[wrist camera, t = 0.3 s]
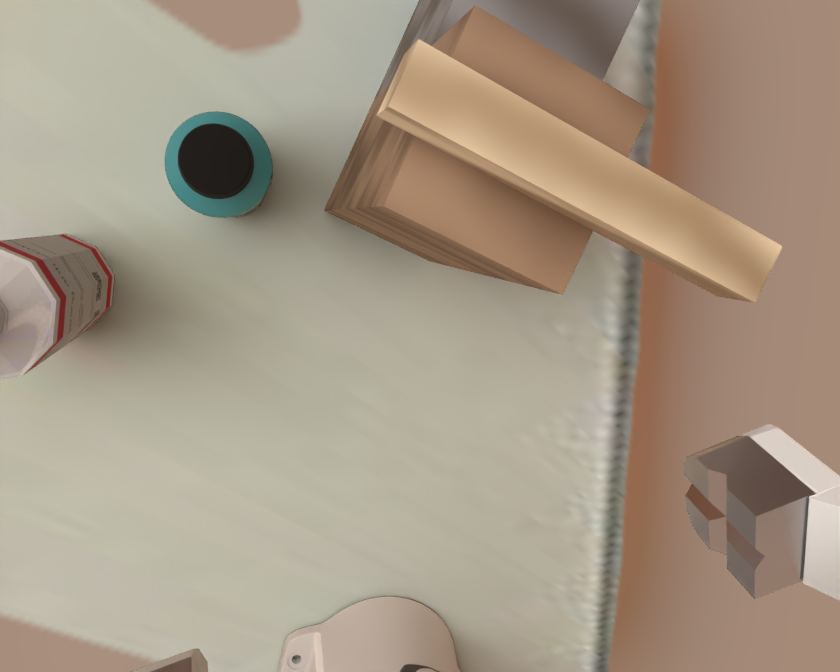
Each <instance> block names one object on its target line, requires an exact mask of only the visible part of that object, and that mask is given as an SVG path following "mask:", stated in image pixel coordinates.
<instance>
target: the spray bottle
mask: <svg viewBox="0 0 840 672" xmlns="http://www.w3.org/2000/svg"><path fill="white" fill-rule="evenodd" d="M114 276H115V275H114V273H113V272H112V270H111V269H110V267H109V265H108V264H107V262H106V261H105V259H104V258H103V256H102V254H101V253H100V251H99V250H98V248H97V247H94V246H92V245H90V244H88V243H85V242H83V241H81V240H79V239H76V238H74V237H72V236H70V235H67V234H62V235H52V236H43V237H33V238H23V239H13V240H3V241H0V380H4V379H9V378H14V377H19V376H23V375H24V374H25V373H27V372H28V371H30V370H31V369H33V368H34V367H35V366H37V365H38V364H40V363H41V362H42V361H44V360H45V359H47V358H48V357H50V356H51V355H52V354H54V353H55V352H57V351H58V350H59V349H61V348H62V347H64V346H65V345H67V344H68V343H69V342H71V341H72V340H74V339H75V338H77V337H78V336H79V335H81V334H82V333H84V332H85V331H86V330H88V329H89V328H91V327H92V326H93V324H94V323H95V322H96V321H97V320H98V319H99V318H100V317H101V316H102V315H103V314H104V313H105V312H106V311H107V310H108V309H109V308H110V307H111V306H112V298H113V287H114Z"/></svg>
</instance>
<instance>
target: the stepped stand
mask: <svg viewBox="0 0 840 672" xmlns="http://www.w3.org/2000/svg"><path fill="white" fill-rule="evenodd" d="M639 1H640V0H419V2H418V4H417V7H416V9H415V11H414V13H413V16H412V18H411V20H410V22H409V24H408V27H407V29H406V31H405V33H404V35H403V38H402V40H401V42H400V44H399V46H398V49H397V51H396V53H395V55H394V57H393V60H392V62H391V64H390V66H389V68H388V71H387V73H386V75H385V77H384V80H383V82H382V84H381V86H380V88H379V91H378V93H377V95H376V97H375V99H374V102H373V104H372V106H371V108H370V110H369V113H368V115H367V117H366V119H365V121H364V124H363V126H362V128H361V130H360V133H359V135H358V137H357V139H356V141H355V144H354V146H353V148H352V150H351V152H350V155H349V157H348V159H347V161H346V163H345V166H344V168H343V170H342V172H341V174H340V177H339V179H338V181H337V183H336V186H335V188H334V190H333V192H332V194H331V197H330V199H329V201H328V203H327V205H326V208H325V211H327V212H329V213H331V214H333V215H335V216H337V217H339V218H341V219H344V220H346V221H348V222H350V223H352V224H354V225H356V226H358V227H360V228H362V229H364V230H366V231H368V232H371V233H373V234H375V235H377V236H379V237H381V238H383V239H385V240H387V241H389V242H391V243H393V244H396V245H398V246H400V247H402V248H404V249H406V250H408V251H410V252H412V253H414V254H416V255H418V256H421V257H423V258H425V259H427V260H429V261H432V262H436V263H440V264H444V265H448V266H451V267H455V268H459V269H463V270H467V271H471V272H475V273H479V274H483V275H487V276H491V277H495V278H499V279H503V280H507V281H511V282H515V283H519V284H523V285H527V286H531V287H535V288H538V289H542V290H546V291H550V292H554V293H558V294H562V295H563V293H564V291H565V288H566V286H567V284H568V282H569V280H570V278H571V276H572V274H573V272H574V269H575V267H576V265H577V263H578V261H579V259H580V257H581V255H582V253H583V250H584V248H585V246H586V244H587V242H588V240H589V238H590V236H591V234H592V231H593V230H591V229H589V228H587V227H586V226H584V225H582V224H580V223H578V222H576V221H574V220H572V219H570V218H569V217H567V216H565V215H563V214H561V213H559V212H557V211H555V210H553V209H551V208H550V207H548V206H546V205H544V204H542V203H540V202H538V201H536V200H534V199H533V198H531V197H529V196H527V195H525V194H523V193H521V192H519V191H517V190H516V189H514V188H512V187H510V186H508V185H506V184H504V183H502V182H500V181H499V180H497V179H495V178H493V177H491V176H489V175H487V174H485V173H483V172H482V171H480V170H478V169H476V168H474V167H472V166H470V165H468V164H466V163H465V162H463V161H461V160H459V159H457V158H455V157H453V156H451V155H449V154H448V153H446V152H444V151H442V150H440V149H438V148H436V147H434V146H432V145H431V144H429V143H427V142H425V141H423V140H421V139H419V138H417V137H415V136H413V135H412V134H410V133H408V132H406V131H404V130H402V129H400V128H398V127H396V126H395V125H393V124H391V123H389V122H387V121H385V120H383V119H381V118H379V117H378V116H376V115H377V113H378V111H379V109H380V106H381V104H382V102H383V100H384V98H385V95H386V93H387V91H388V89H389V87H390V84H391V82H392V80H393V78H394V76H395V73H396V71H397V69H398V67H399V65H400V62H401V60H402V58H403V56H404V54H405V53H406V52H407V51H408V50H409V49H410V48H411V47H412V46H413V45H414V44H415V42H416V41H417V40H418V39H420V40H421V41H423V42H425V43H427V44H428V45H430V46H432V47H434V48H435V49H437V50H439V51H441V52H442V53H444V54H446V55H448V56H449V57H451V58H453V59H455V60H457V61H458V62H460V63H462V64H464V65H465V66H467V67H469V68H471V69H472V70H474V71H476V72H478V73H479V74H481V75H483V76H485V77H486V78H488V79H490V80H492V81H493V82H495V83H497V84H499V85H500V86H502V87H504V88H506V89H507V90H509V91H511V92H513V93H514V94H516V95H518V96H520V97H521V98H523V99H525V100H527V101H528V102H530V103H532V104H534V105H535V106H537V107H539V108H541V109H542V110H544V111H546V112H548V113H549V114H551V115H553V116H555V117H557V118H558V119H560V120H562V121H564V122H565V123H567V124H569V125H571V126H572V127H574V128H576V129H578V130H579V131H581V132H583V133H585V134H586V135H588V136H590V137H592V138H593V139H595V140H597V141H599V142H600V143H602V144H604V145H606V146H607V147H609V148H611V149H613V150H614V151H616V152H618V153H620V154H621V155H623V156H625V157H627V158H628V156H629V153H630V151H631V149H632V147H633V145H634V143H635V141H636V139H637V137H638V134H639V132H640V130H641V128H642V126H643V124H644V122H645V120H646V118H647V115H648V113H649V111H650V109H648V108H647V107H645V106H643V105H642V104H640V103H638V102H637V101H635V100H633V99H632V98H630V97H628V96H627V95H625V94H623V93H622V92H620V91H618V90H617V89H615V88H613V87H612V86H610V85H608V84H607V83H605V82H603V81H602V80H603V78H604V76H605V74H606V72H607V70H608V67H609V65H610V63H611V61H612V59H613V57H614V55H615V52H616V50H617V48H618V46H619V44H620V42H621V40H622V38H623V35H624V33H625V31H626V29H627V27H628V25H629V23H630V21H631V18H632V16H633V14H634V12H635V10H636V8H637V6H638V3H639Z"/></svg>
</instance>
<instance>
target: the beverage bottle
mask: <svg viewBox="0 0 840 672" xmlns="http://www.w3.org/2000/svg"><path fill="white" fill-rule="evenodd" d="M165 171H166V175H167V178H168V181H169V184H170V186H171V187H172V189H173V191H174V192H175V194H176V195H177V196H178V198H179V199H180V200H181V201H182V202H183V203H184V204H186V205H187V206H188V207H190V208H191V209H193V210H195V211H197V212H198V213H201V214H204V215H207V216H211V217H235V216H240V215H243V214H246V213H248V212H250V211H251V210H253V209H254V208H255V207H256V206H258V205H259V203H260V202H261V201H262V199H263V198H264V196H265V194H266V192H267V189H268V187H269V184H270V181H271V177H272V175H273V174H272V173H273V172H272V171H273V170H272V159H271V154H270V151H269V148H268V146H267V144H266V142H265V140H264V139H263V137H262V135H261V134H260V133H259V132H258V130H257V129H256V128H255V127H254V126H252V125H251V124H250V123H249V122H247V121H246V120H244V119H242V118H240V117H238V116H236V115H233V114H230V113H225V112H206V113H201V114H198V115H195V116H193V117H191V118H189V119H188V120H186V121H185V122H183V123H182V124H181V125H180V126H179V127H178V128H177V129H176V130H175V132H174V133H173V135H172V136H171V138H170V140H169V142H168V145H167V148H166V153H165ZM272 178H273V177H272ZM270 185H271V184H270ZM270 187H271V186H270ZM268 193H269V192H268ZM259 207H260V206H259ZM254 211H255V210H254ZM248 215H249V213H248ZM241 217H242V216H241Z"/></svg>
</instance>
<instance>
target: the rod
mask: <svg viewBox="0 0 840 672" xmlns="http://www.w3.org/2000/svg"><path fill="white" fill-rule="evenodd" d="M376 116H378V117H379V118H381V119H383V120H385V121H387V122H389V123H391V124H393V125H395V126H396V127H398V128H400V129H402V130H404V131H406V132H408V133H410V134H412V135H413V136H415V137H417V138H419V139H421V140H423V141H425V142H427V143H429V144H431V145H432V146H434V147H436V148H438V149H440V150H442V151H444V152H446V153H448V154H449V155H451V156H453V157H455V158H457V159H459V160H461V161H463V162H465V163H466V164H468V165H470V166H472V167H474V168H476V169H478V170H480V171H482V172H483V173H485V174H487V175H489V176H491V177H493V178H495V179H497V180H499V181H500V182H502V183H504V184H506V185H508V186H510V187H512V188H514V189H516V190H517V191H519V192H521V193H523V194H525V195H527V196H529V197H531V198H533V199H534V200H536V201H538V202H540V203H542V204H544V205H546V206H548V207H550V208H551V209H553V210H555V211H557V212H559V213H561V214H563V215H565V216H567V217H569V218H570V219H572V220H574V221H576V222H578V223H580V224H582V225H584V226H586V227H587V228H589V229H591V230H593V231H595V232H597V233H599V234H601V235H603V236H604V237H606V238H608V239H610V240H612V241H614V242H616V243H618V244H620V245H621V246H623V247H625V248H627V249H629V250H631V251H633V252H635V253H637V254H638V255H640V256H642V257H644V258H646V259H648V260H650V261H652V262H654V263H656V264H658V265H659V266H661V267H663V268H665V269H667V270H669V271H671V272H672V273H674V274H676V275H678V276H680V277H682V278H684V279H686V280H688V281H690V282H691V283H693V284H695V285H697V286H699V287H701V288H703V289H705V290H707V291H708V292H710V293H712V294H714V295H716V296H720V297H725V298H731V299H736V300H742V301H748V302H754V303H755V302H756V300H757V298H758V296H759V294H760V292H761V290H762V287H763V286H764V284H765V282H766V280H767V278H768V276H769V274H770V272H771V269H772V267H773V265H774V263H775V261H776V259H777V257H778V255H779V253H780V251H781V249H782V246H781V245H779V244H778V243H776V242H774V241H772V240H771V239H769V238H767V237H765V236H763V235H762V234H760V233H758V232H756V231H755V230H753V229H751V228H749V227H748V226H746V225H744V224H742V223H741V222H739V221H737V220H735V219H733V218H732V217H730V216H728V215H727V214H725V213H723V212H721V211H720V210H717V209H716V208H714V207H713V206H711V205H709V204H707V203H706V202H704V201H702V200H700V199H698V198H697V197H695V196H693V195H691V194H690V193H688V192H686V191H685V190H683V189H681V188H679V187H678V186H676V185H674V184H672V183H670V182H669V181H667V180H665V179H664V178H662V177H660V176H658V175H657V174H655V173H653V172H651V171H649V170H648V169H646V168H644V167H642V166H641V165H639V164H637V163H635V162H634V161H632V160H630V159H628V158H627V157H625V156H623V155H621V154H620V153H618V152H616V151H614V150H613V149H611V148H609V147H607V146H606V145H604V144H602V143H600V142H599V141H597V140H595V139H593V138H592V137H590V136H588V135H586V134H585V133H583V132H581V131H579V130H578V129H576V128H574V127H572V126H571V125H569V124H567V123H565V122H564V121H562V120H560V119H558V118H557V117H555V116H553V115H551V114H549V113H548V112H546V111H544V110H542V109H541V108H539V107H537V106H535V105H534V104H532V103H530V102H528V101H527V100H525V99H523V98H521V97H520V96H518V95H516V94H514V93H513V92H511V91H509V90H507V89H506V88H504V87H502V86H500V85H499V84H497V83H495V82H493V81H492V80H490V79H488V78H486V77H485V76H483V75H481V74H479V73H478V72H476V71H474V70H472V69H471V68H469V67H467V66H465V65H464V64H462V63H460V62H458V61H457V60H455V59H453V58H451V57H449V56H448V55H446V54H444V53H442V52H441V51H439V50H437V49H435V48H434V47H432V46H430V45H428V44H427V43H425V42H423V41H421V40H420V39H418V40H417V41H416V42H415V44H414V45H413V46H412V47H411V48H410V49H409V50H408V51H407V52H406V53H405V54H404V56H403V58H402V60H401V62H400V65H399V67H398V69H397V71H396V73H395V76H394V78H393V80H392V82H391V84H390V87H389V89H388V91H387V93H386V95H385V98H384V100H383V102H382V104H381V106H380V109H379V111H378V113H377V115H376Z"/></svg>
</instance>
